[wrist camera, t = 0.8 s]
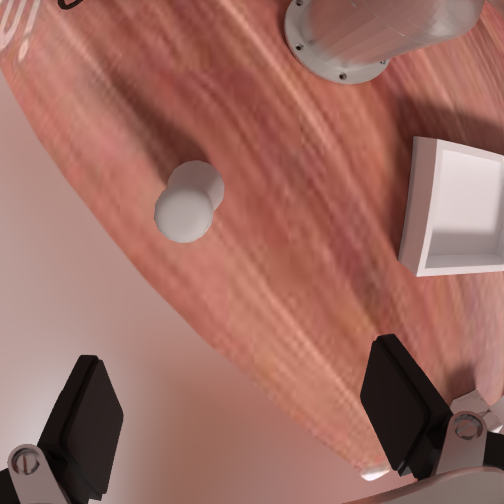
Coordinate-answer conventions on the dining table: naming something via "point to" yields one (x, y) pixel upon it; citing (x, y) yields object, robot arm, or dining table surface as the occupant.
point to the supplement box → (477, 409)
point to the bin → (453, 210)
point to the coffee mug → (66, 7)
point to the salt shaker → (189, 201)
